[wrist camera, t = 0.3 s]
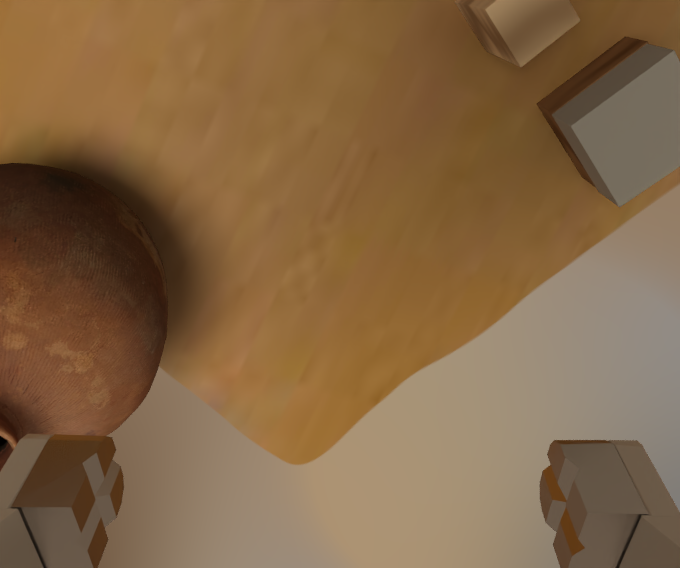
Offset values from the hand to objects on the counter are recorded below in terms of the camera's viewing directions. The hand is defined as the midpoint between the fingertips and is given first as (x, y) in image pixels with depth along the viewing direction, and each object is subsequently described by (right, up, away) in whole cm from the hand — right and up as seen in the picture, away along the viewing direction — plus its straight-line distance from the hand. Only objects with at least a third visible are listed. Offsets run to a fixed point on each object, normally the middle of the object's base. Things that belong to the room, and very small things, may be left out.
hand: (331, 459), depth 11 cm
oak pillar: (+13, +27, +39) cm, 49 cm away
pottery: (-26, +6, +47) cm, 54 cm away
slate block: (+25, +17, +41) cm, 51 cm away
